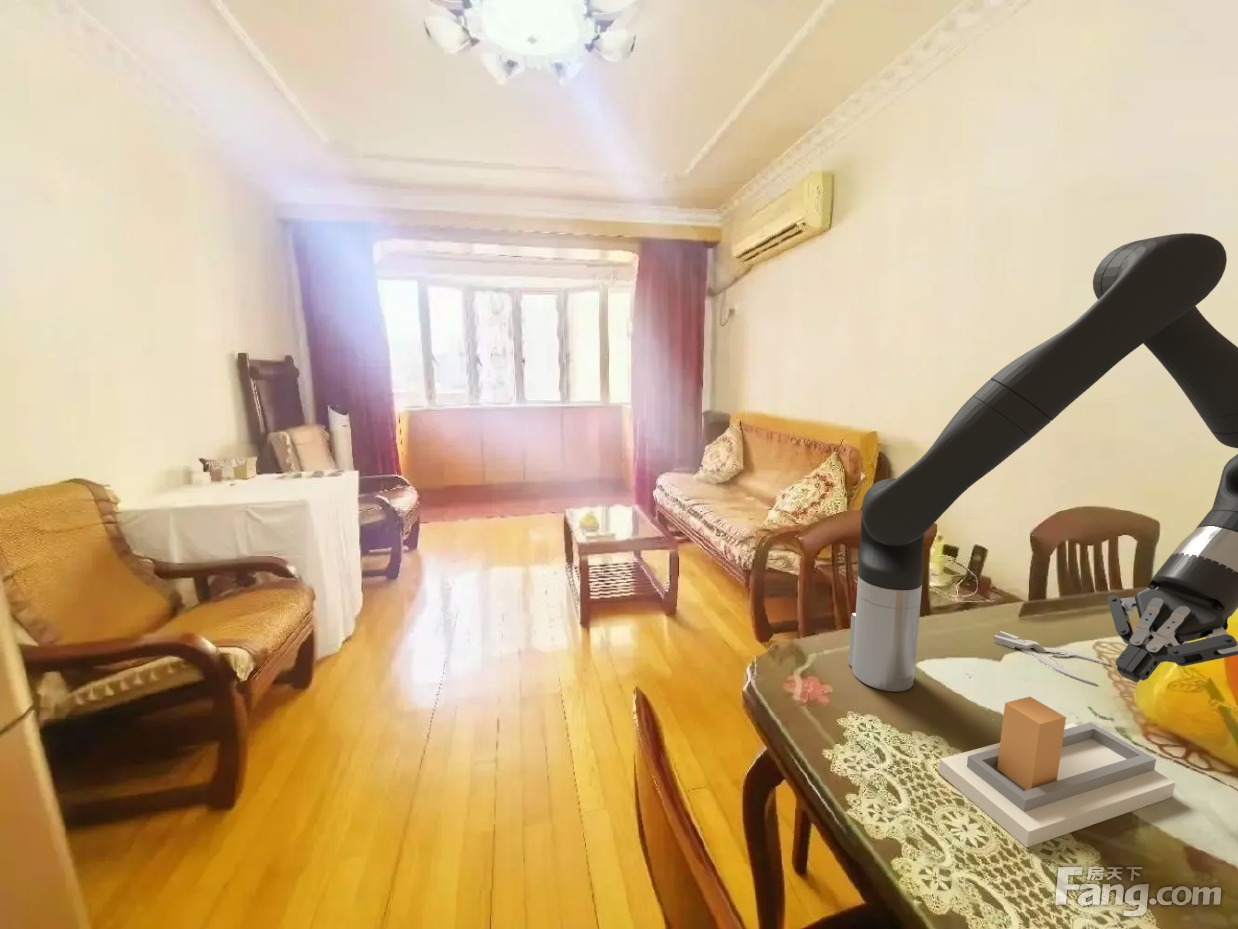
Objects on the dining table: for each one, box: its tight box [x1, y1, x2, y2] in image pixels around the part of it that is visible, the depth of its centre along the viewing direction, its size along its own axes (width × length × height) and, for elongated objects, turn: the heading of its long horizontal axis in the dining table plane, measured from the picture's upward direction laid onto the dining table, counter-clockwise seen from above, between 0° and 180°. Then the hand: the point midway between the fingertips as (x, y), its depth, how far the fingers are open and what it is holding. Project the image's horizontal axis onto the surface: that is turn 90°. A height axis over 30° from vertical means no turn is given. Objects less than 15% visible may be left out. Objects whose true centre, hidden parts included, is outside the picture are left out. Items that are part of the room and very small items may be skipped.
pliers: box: [993, 630, 1111, 686], centre depth 92 cm, size 10×2×15 cm
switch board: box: [938, 722, 1176, 848], centre depth 63 cm, size 11×23×4 cm, turn 106°
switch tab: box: [997, 696, 1067, 790], centre depth 61 cm, size 4×4×9 cm
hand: (1126, 676), depth 64 cm, fingers closed
